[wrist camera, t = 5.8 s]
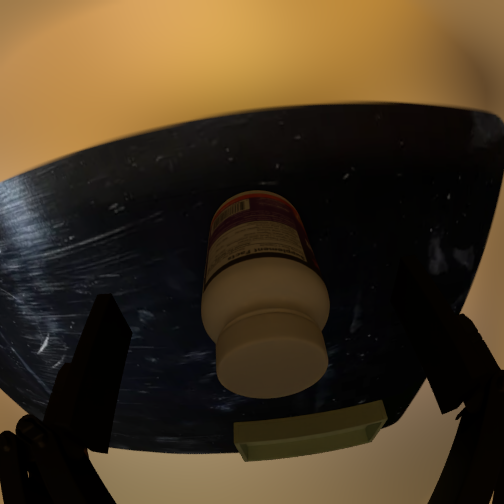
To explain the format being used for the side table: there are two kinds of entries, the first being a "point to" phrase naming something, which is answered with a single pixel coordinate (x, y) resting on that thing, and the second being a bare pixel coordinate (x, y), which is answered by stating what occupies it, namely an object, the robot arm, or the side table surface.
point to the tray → (309, 432)
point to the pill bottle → (264, 298)
